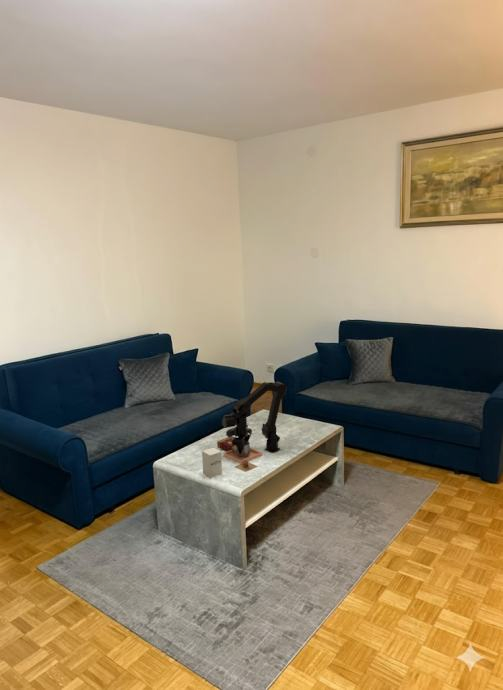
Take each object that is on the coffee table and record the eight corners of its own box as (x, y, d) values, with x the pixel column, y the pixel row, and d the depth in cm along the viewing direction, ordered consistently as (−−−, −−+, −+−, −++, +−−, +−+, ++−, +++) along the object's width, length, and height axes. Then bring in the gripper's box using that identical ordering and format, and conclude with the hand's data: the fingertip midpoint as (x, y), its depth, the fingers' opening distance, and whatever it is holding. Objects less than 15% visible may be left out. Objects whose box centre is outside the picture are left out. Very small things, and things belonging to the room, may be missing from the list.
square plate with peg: (246, 462, 269) (246, 456, 268) (258, 467, 262) (258, 461, 262) (234, 467, 263) (233, 461, 262) (245, 472, 256) (245, 466, 256)
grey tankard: (251, 451, 278) (250, 441, 277) (248, 456, 271) (247, 446, 270) (235, 450, 280) (235, 440, 279) (232, 455, 274) (231, 445, 272)
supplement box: (210, 478, 251) (209, 455, 249) (202, 473, 257) (201, 450, 255) (222, 474, 255) (221, 451, 253) (214, 469, 261) (213, 447, 259)
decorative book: (233, 455, 279) (233, 447, 278) (215, 447, 290) (215, 439, 289) (248, 449, 286) (248, 441, 285) (230, 442, 298) (230, 434, 297)
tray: (243, 448, 287) (243, 445, 286) (262, 456, 276) (261, 452, 275) (223, 456, 277) (223, 453, 276) (241, 465, 266) (241, 461, 265)
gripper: (233, 417, 284) (234, 443, 287) (221, 429, 266) (223, 456, 269) (251, 419, 280) (252, 445, 283) (241, 431, 263) (242, 458, 266)
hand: (242, 451), depth 276 cm, fingers closed on grey tankard, 7 cm apart
